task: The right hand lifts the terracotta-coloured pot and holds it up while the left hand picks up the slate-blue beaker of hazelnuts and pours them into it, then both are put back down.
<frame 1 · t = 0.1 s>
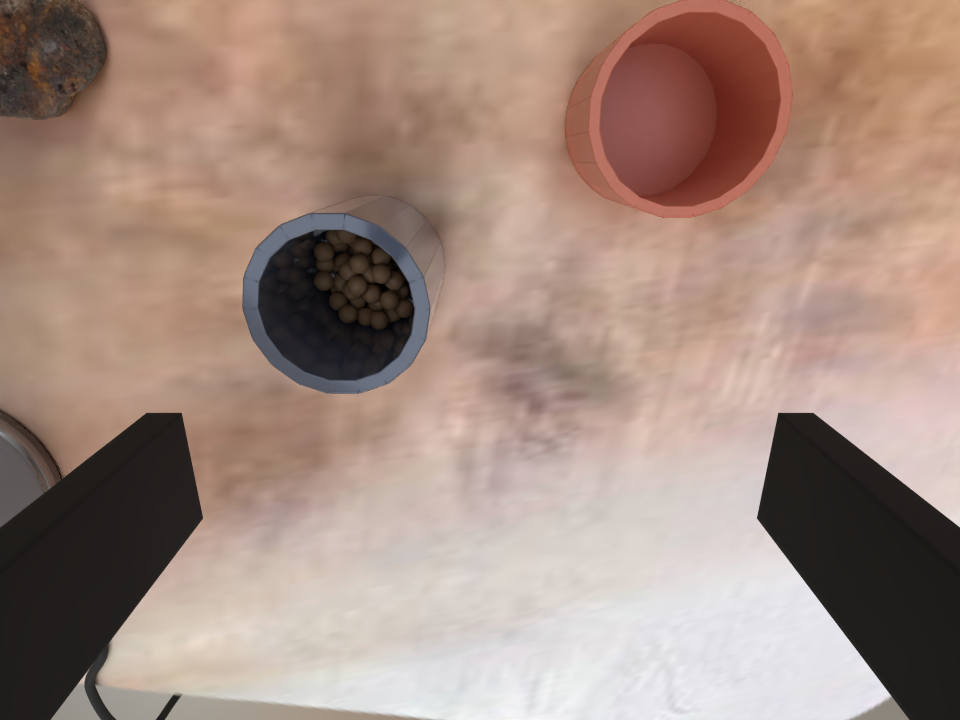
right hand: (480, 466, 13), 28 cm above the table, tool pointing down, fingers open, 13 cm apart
beaker: (379, 263, 39), on the table, 61 hazelnuts inside
pot: (643, 123, 36), on the table, 0 hazelnuts inside
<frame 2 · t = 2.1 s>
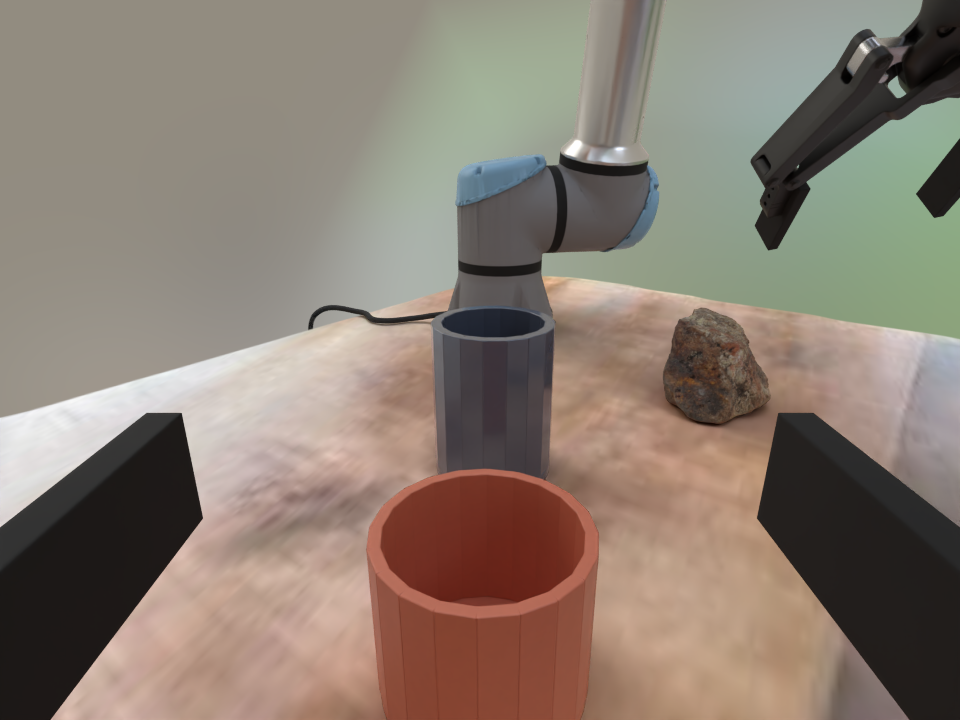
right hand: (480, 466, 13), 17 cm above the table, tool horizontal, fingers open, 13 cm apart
left hand: (847, 221, 46), fingers open, 13 cm apart
beaker: (492, 465, 46), on the table, 61 hazelnuts inside
pot: (483, 674, 28), on the table, 0 hazelnuts inside
rock: (714, 396, 58), on the table
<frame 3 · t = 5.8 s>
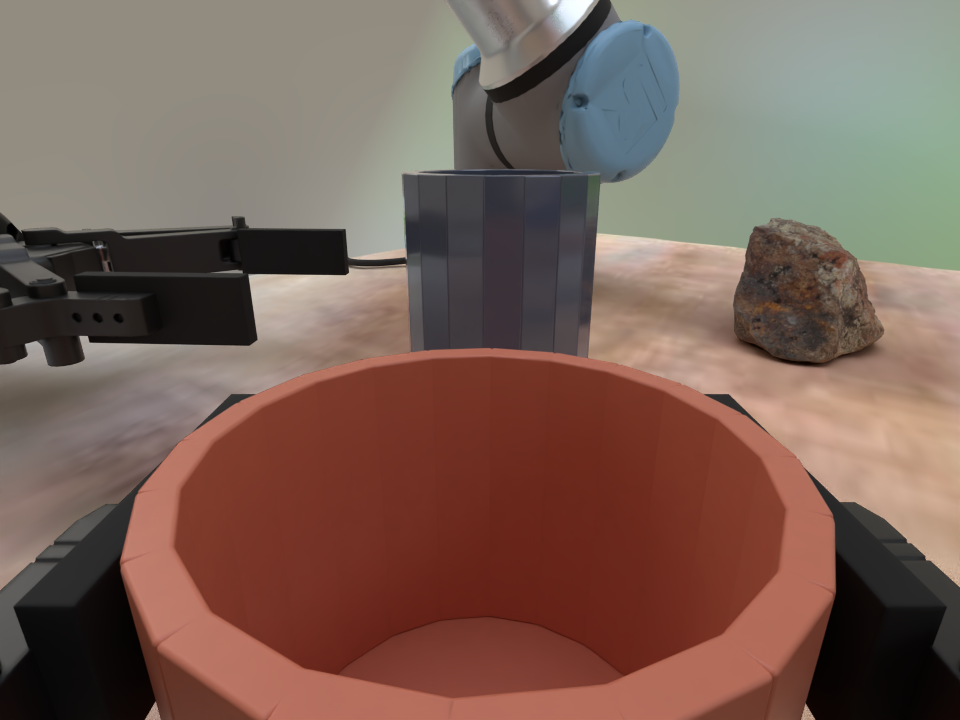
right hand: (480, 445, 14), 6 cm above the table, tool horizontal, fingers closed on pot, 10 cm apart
left hand: (309, 274, 28), fingers open, 13 cm apart
beaker: (497, 410, 30), on the table, 61 hazelnuts inside
rock: (799, 335, 43), on the table
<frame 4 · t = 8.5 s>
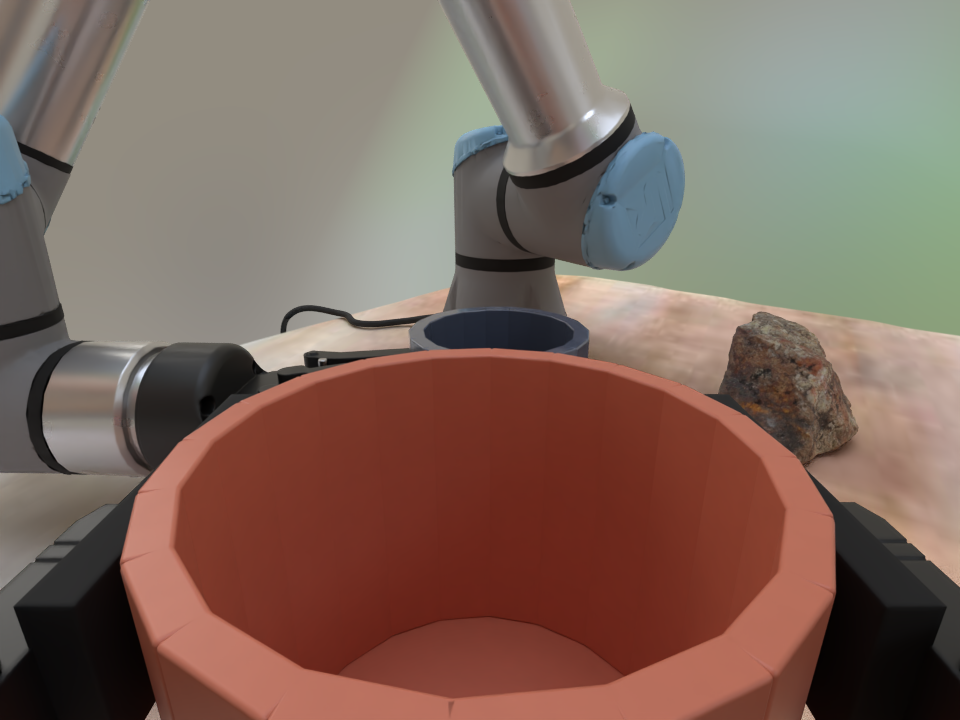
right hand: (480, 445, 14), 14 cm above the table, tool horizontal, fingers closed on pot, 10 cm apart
beaker: (496, 528, 33), on the table, 61 hazelnuts inside, touching left hand
rock: (780, 426, 46), on the table
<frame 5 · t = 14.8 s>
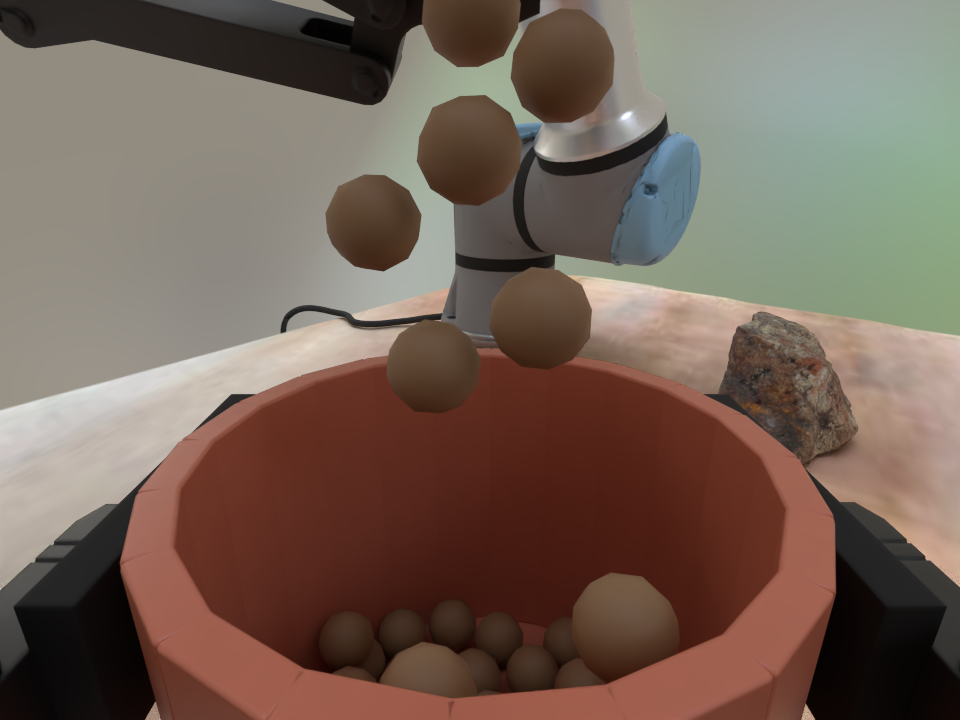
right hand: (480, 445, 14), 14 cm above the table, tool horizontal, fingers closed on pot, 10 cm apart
rock: (780, 426, 46), on the table
when the right hand's fingers open (7 cm above the table, at t = 22.9 s): pot stays where it is, on the table.
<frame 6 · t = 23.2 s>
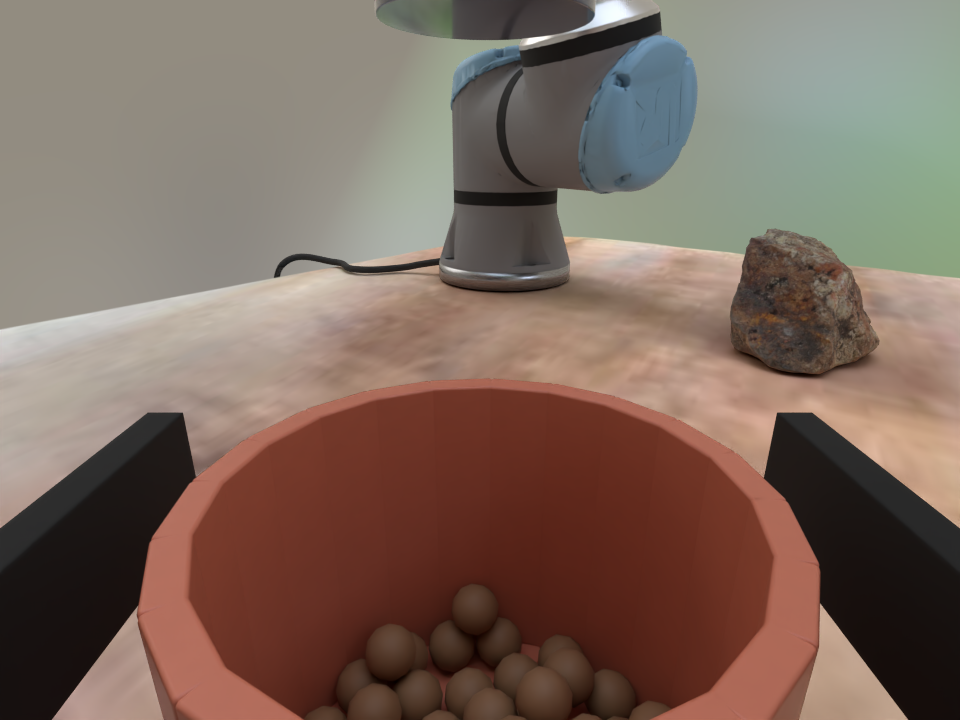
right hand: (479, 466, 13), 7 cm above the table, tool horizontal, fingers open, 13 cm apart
beaker: (485, 19, 24), point 19 cm above the table, 0 hazelnuts inside, touching left hand
rock: (796, 345, 43), on the table
when the left hand's fingers open (8 cm above the table, at t = 26.6 s): beaker stays where it is, on the table.
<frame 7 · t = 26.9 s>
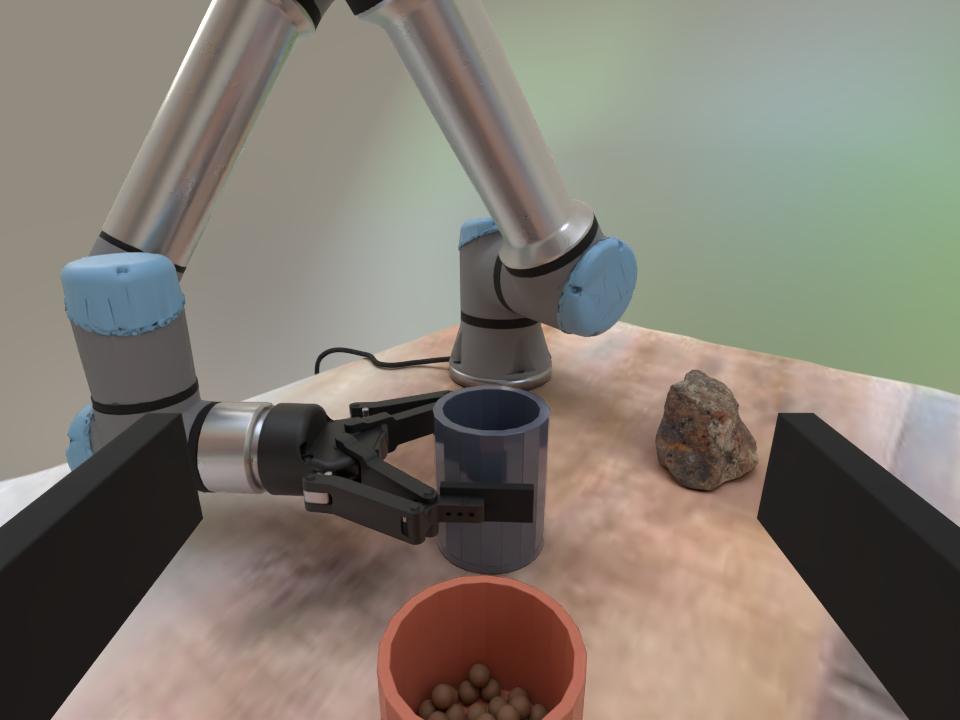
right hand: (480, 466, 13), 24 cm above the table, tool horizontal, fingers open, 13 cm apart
left hand: (530, 455, 46), fingers open, 13 cm apart
beaker: (490, 537, 48), on the table, 0 hazelnuts inside
rock: (705, 458, 61), on the table
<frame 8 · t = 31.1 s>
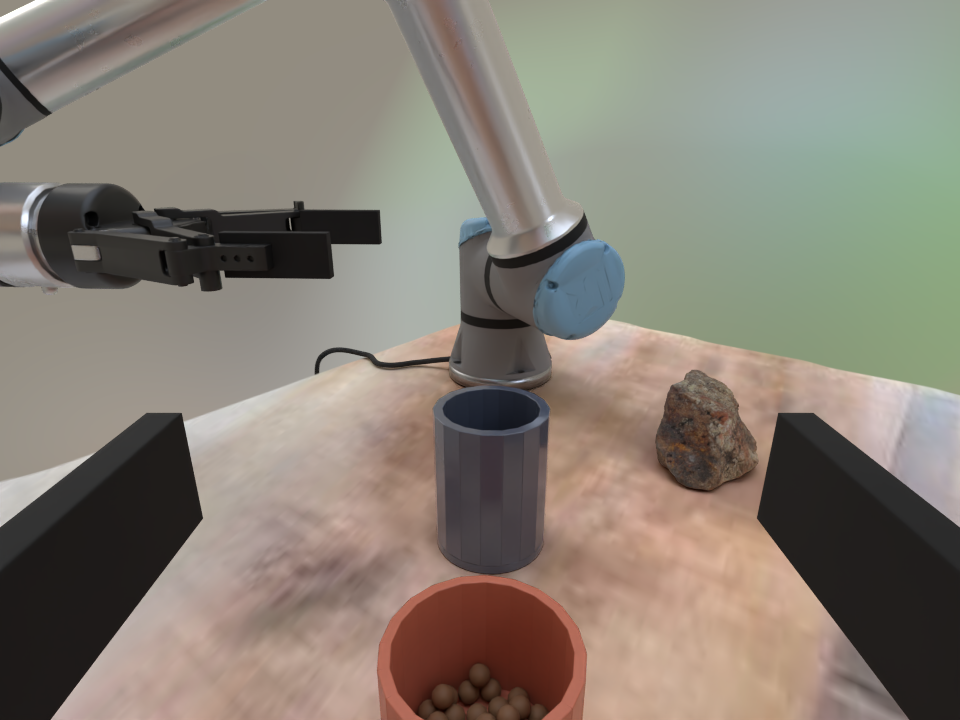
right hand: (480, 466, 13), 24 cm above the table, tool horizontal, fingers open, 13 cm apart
left hand: (359, 239, 40), fingers open, 13 cm apart
beaker: (490, 537, 48), on the table, 0 hazelnuts inside
rock: (705, 458, 61), on the table
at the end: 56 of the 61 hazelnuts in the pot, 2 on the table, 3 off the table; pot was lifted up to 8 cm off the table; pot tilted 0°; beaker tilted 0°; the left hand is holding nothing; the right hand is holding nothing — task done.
